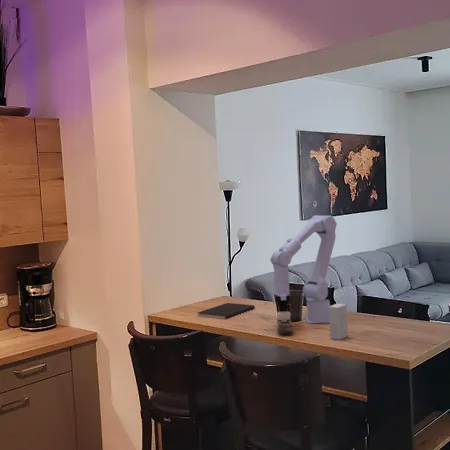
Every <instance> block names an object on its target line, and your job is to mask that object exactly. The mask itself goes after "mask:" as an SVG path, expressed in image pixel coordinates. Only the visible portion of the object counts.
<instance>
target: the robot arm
mask: <svg viewBox="0 0 450 450" xmlns="http://www.w3.org/2000/svg"><path fill="white" fill-rule="evenodd" d="M337 223H338V222H336V220H335V218H334V217H333V216H332V215H331V214H330V215H318V214H315V215H313V216H312V217H311V218H310V219H308V220H307V224H306V225H305V226H304V227H303V228H302V229H301V230H300V231H299V232H298V234H297V235H296V236H295V237H291V238H288V239H287V240H286V242H285V244H283V246H281V247H279V248H278V249H279V250H276V251H273V253H272V254H271V257H270V258H269V259H270V262H271V264H272V267H273V277H274V291H272V293H271V294H272V295H275V298H274V299H275V301H276V303H277V306H278V309H279V312H284V311H288V307H289V306H288V305H289V302H290V299H291V298H290V294H291V291H290V276H289V274H290V272H289V265H290V264H291V262H292V258H293V257H294V256H295V255H296V254H297V253H298V252H299V250H301V249H302V243H304V242H305V241H306V240H307V239H308V238H310V237H311V236H312V235H313V234H314V233H316V234H317V235H318V236H319V237H320V243H319V248H318V251H317V255H316V258H315V262H314V267H313V270H312V273H311V275H310V276H309V277H308V278H307V279H306V282H305V284H304V285H303V287H302V294H303V296H304V297H305V300H306V311H307V312H306V313H307V317H306V318H305V320H306V322H307V324H323V323H326V324H327V323H329V324H330V318H329V306H331V302H330V299H326V298H327V297H328V295H329V289H328V286H329V283H328V281H327V279H326V276H327V274H328V273H327V272H328V269H329V264H330V261H331V257H332V254H333V250H334V246H335V242H336V237H337V236H336V229H337V225H338V224H337Z"/></svg>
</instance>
